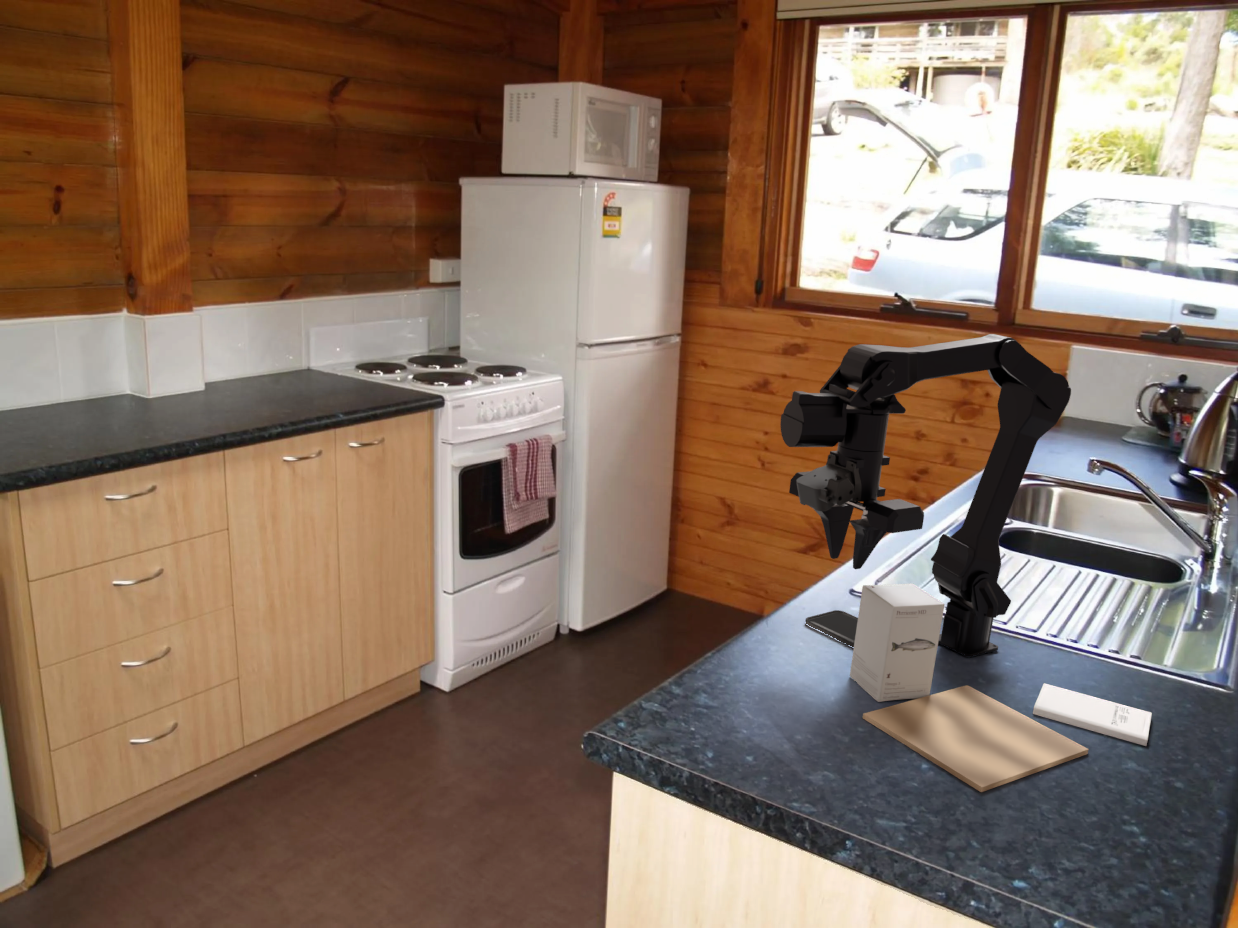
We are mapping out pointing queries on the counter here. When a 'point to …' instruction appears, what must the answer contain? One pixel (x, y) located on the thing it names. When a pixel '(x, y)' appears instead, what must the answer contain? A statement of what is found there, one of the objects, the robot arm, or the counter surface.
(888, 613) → the supplement box
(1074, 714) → the external hard drive
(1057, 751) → the wooden cutting board
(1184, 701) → the counter surface
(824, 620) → the phone
